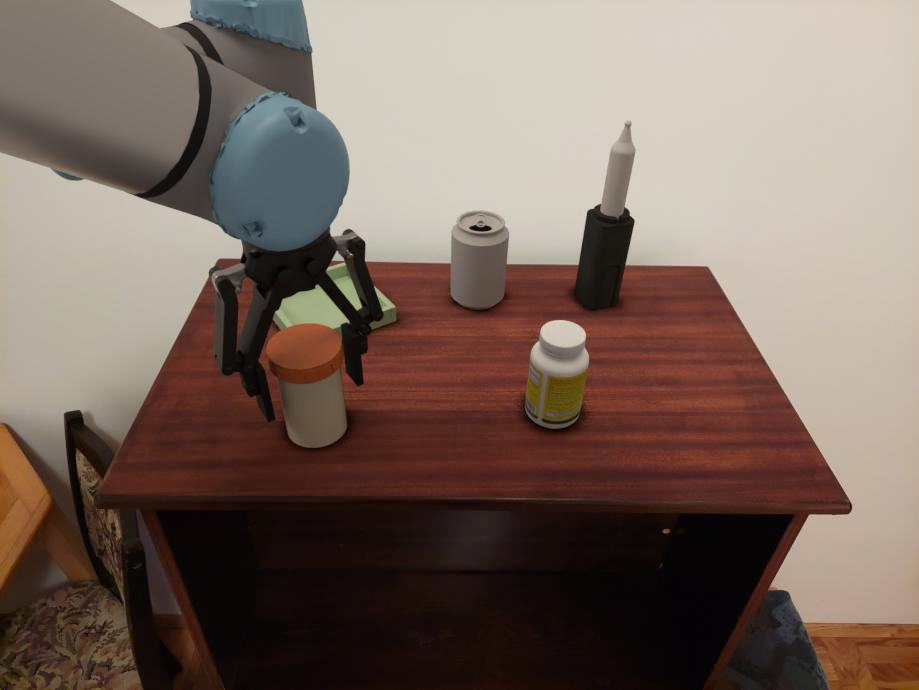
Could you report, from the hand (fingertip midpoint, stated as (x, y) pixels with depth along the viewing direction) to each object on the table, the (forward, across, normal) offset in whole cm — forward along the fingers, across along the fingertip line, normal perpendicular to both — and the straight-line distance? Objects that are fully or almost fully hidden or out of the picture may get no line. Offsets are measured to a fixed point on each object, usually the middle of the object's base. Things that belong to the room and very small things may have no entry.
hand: (312, 395), depth 67 cm
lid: (-6, 0, 0) cm, 6 cm away
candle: (+5, +43, +2) cm, 43 cm away
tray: (+5, +10, +19) cm, 22 cm away
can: (+5, +29, +11) cm, 31 cm away
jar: (+5, 0, 0) cm, 5 cm away
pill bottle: (+5, +23, -12) cm, 26 cm away
